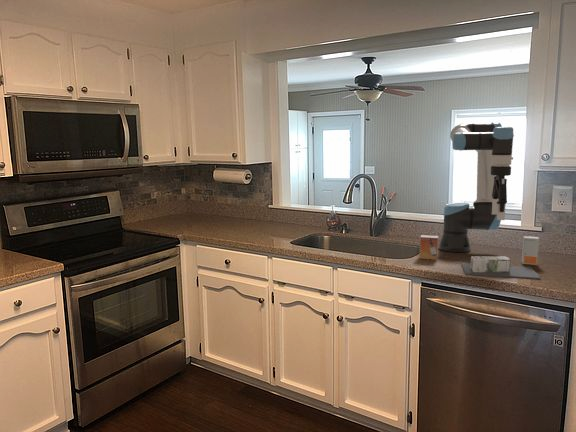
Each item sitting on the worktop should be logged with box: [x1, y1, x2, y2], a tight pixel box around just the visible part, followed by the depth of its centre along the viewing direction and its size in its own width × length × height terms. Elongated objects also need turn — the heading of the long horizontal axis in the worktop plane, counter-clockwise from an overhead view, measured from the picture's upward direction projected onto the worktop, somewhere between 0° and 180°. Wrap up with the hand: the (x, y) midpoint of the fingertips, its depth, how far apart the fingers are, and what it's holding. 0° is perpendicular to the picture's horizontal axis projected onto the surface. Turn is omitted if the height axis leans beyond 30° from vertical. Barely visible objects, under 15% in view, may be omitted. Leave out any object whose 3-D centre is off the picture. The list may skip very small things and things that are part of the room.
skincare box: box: [520, 235, 540, 266], centre depth 207 cm, size 6×4×12 cm
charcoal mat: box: [461, 263, 542, 280], centre depth 196 cm, size 16×28×1 cm, turn 74°
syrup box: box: [470, 255, 511, 273], centre depth 195 cm, size 6×6×14 cm
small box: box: [418, 234, 439, 261], centre depth 219 cm, size 8×6×10 cm
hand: (497, 217), depth 194 cm, fingers open, 13 cm apart
